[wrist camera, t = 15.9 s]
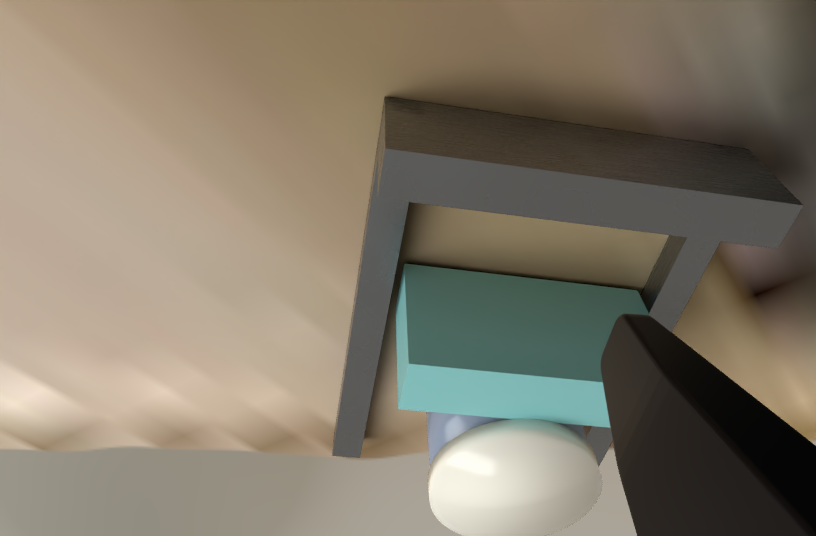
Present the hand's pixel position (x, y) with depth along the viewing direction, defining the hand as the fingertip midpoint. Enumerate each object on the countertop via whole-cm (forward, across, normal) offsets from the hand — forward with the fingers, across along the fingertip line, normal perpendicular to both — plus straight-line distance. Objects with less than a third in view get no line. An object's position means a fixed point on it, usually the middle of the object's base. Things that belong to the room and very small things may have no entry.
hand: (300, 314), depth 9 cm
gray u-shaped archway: (+12, -7, +9) cm, 17 cm away
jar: (+12, -7, +13) cm, 18 cm away
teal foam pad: (+12, -7, +9) cm, 16 cm away
